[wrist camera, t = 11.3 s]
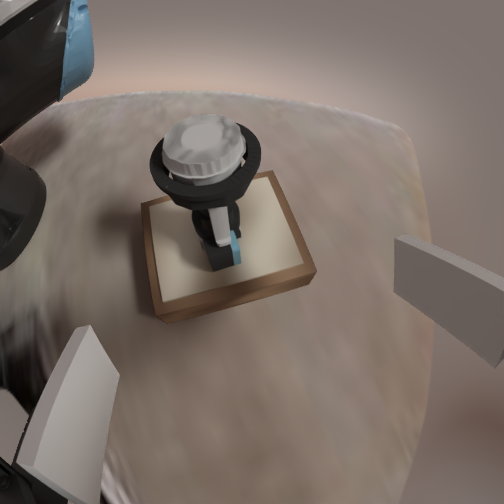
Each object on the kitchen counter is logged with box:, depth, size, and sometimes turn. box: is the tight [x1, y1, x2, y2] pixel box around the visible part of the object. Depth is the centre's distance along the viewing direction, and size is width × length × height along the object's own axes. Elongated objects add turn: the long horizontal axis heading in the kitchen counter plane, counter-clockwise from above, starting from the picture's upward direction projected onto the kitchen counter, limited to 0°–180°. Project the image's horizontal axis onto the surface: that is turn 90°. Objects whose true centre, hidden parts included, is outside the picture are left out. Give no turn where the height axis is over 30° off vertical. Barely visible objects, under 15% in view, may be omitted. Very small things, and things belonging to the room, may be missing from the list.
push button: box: [150, 114, 261, 272], centre depth 16 cm, size 7×5×10 cm
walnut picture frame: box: [141, 170, 317, 324], centre depth 22 cm, size 12×10×3 cm
